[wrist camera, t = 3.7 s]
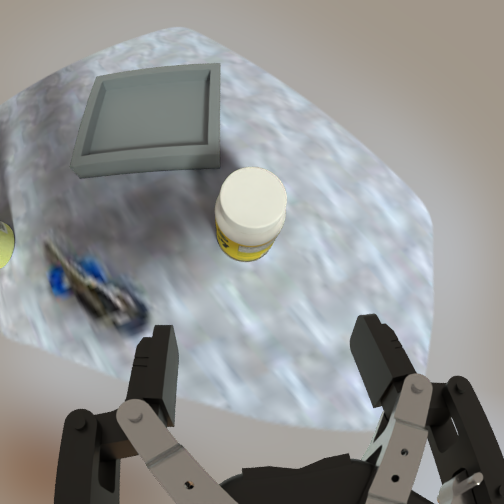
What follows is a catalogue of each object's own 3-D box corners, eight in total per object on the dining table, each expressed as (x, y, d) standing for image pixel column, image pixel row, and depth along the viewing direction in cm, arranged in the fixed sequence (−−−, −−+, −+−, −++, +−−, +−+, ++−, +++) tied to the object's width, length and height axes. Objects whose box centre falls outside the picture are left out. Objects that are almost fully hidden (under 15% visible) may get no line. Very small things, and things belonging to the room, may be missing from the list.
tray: (80, 178, 26) (69, 166, 23) (102, 90, 28) (96, 76, 26) (220, 168, 27) (219, 154, 25) (220, 78, 30) (220, 63, 27)
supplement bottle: (213, 213, 26) (208, 164, 18) (267, 206, 26) (284, 156, 18) (221, 267, 25) (218, 239, 17) (277, 259, 25) (301, 228, 17)
